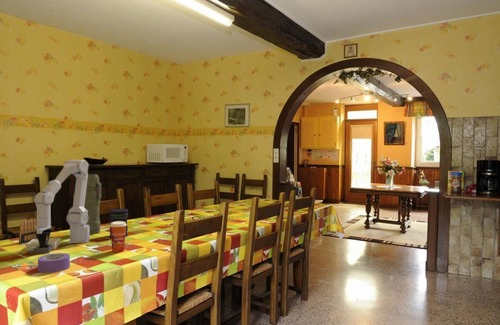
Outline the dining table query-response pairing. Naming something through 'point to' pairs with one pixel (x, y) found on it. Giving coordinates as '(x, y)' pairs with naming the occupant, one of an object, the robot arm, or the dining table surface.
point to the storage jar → (119, 217)
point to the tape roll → (53, 262)
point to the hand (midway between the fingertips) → (43, 245)
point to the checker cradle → (39, 250)
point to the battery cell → (46, 243)
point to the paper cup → (118, 236)
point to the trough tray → (53, 241)
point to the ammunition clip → (27, 231)
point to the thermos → (93, 202)
